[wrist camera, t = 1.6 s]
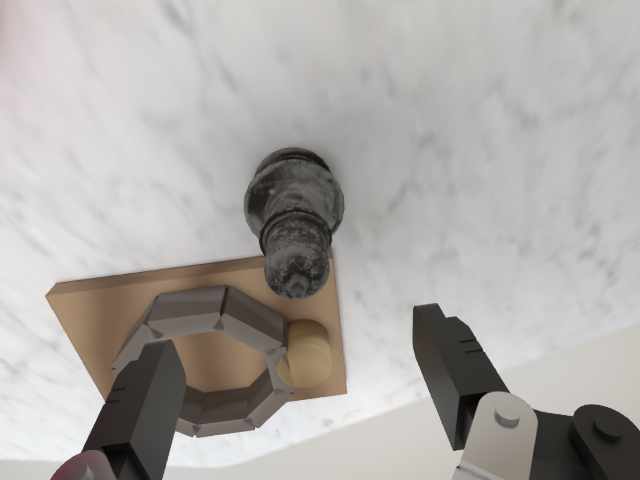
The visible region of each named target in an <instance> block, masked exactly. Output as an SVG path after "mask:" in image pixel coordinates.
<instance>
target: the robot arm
mask: <svg viewBox="0 0 640 480" xmlns="http://www.w3.org/2000/svg"><path fill="white" fill-rule="evenodd" d="M413 349H414V353H415V357H416V360H417V362H418V365H419V367H420V370H421V372H422V375H423V377H424V380H425V382H426V385H427V387H428V389H429V392H430V394H431V397H432V399H433V402H434V404H435V407H436V409H437V412H438V414H439V417H440V419H441V422H442V424H443V427H444V429H445V432H446V434H447V436H448V439H449V441H450V444H451V447H452V449H453V451H456V450H462V449H464V452H463V455H462V458H461V461H460V464H459V466H457V467H456V469H455V472H454V474H453V478H452V480H640V431H639V429H638V428H637V427H636V426H635V425H634V424H633V423H632V422H631V421H630V420H629V419H628V418H626V417H625V416H624V415H622V414H621V413H619V412H617V411H615V410H613V409H611V408H608V407H605V406H601V405H594V404H593V405H592V404H591V405H590V404H589V405H584V406H581V407H579V408H578V409H577V410H576V411H575V413H574V415H573V416H566V415H560V414H553V413H546V412H541V411H538V410H535V409H532V408H531V407H530V405H529V404H527V403H526V402H525V401H524V400H522V399H521V398H519V397H517V396H515V395H513V394H511V393H510V392H509V390H508V389H507V387H506V386H505V384H504V382H503V381H502V379H501V378H500V376H499V374H498V373H497V371H496V369H495V368H494V366H493V365H492V363H491V361H490V360H489V358H488V357H487V355H486V353H485V352H483V349H482V347H481V345H480V344H479V342H478V341H477V340H476V337H475V336H474V334H473V332H472V331H471V329H470V328H469V326H468V325H466V324H465V323H464V322H462V321H461V320H460V319H458V318H457V317H448V318H446V317H445V315H444V314H443V312H442V310H441V308H440V307H439V305H438V304H437V303H433V304H426V305H419V306H414V308H413ZM185 391H186V374H185V370H184V368H183V365H182V363H181V360H180V358H179V355H178V352H177V350H176V347H175V345H174V343H173V341H172V340H171V339H168V340H160V341H153V342H147V343H146V344H145V345H144V346H143V349H142V351H141V353H140V356H139V358H138V360H134V361H130V362H129V363H128V364H127V365H126V366H125V367H124V368H123V369H122V371H121V372H120V373H119V374H118V375H117V377H116V379H115V382H114V384H113V386H112V388H111V392H109V394H108V396H107V399H106V401H105V404H104V405H103V407H102V409H101V411H100V413H99V416H98V418H97V420H96V422H95V424H94V426H93V428H92V430H91V433H90V435H89V437H88V439H87V441H86V443H85V445H84V447H83V450H82V451H81V453H79V454H77V455H75V456H73V457H72V458H70V459H69V460H67V461H66V462H65V463H64V464H63V465H62V466H61V467H60V468H59V469H58V470H57V471H56V472H55V473H54V475H53V476H52V478H51V480H162V478H163V474H164V470H165V467H166V463H167V459H168V455H169V452H170V448H171V444H172V440H173V436H174V433H175V429H176V425H177V421H178V418H179V414H180V410H181V406H182V402H183V399H184V395H185Z"/></svg>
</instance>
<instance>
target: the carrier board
mask: <svg viewBox="0 0 640 480" xmlns="http://www.w3.org/2000/svg"><path fill="white" fill-rule="evenodd" d="M328 260H329V267H330V272H329V276H328V281H327V282H326V284H325V286H324V287H323V288H322V289H321V290H320V291H319V292H318V293H316V294H315V295H313V296H311V297H308V298H305V299H300V300H292V299H287V298H284V297H281V296H279V295H278V294H276V293H274V292H273V291H272V290H271V289H270V287H269V286H268V284H267V282H266V279H265V274H264V267H265V256H263V257H255V258H247V259H240V260H232V261H224V262H217V263H209V264H201V265H194V266H186V267H179V268H171V269H163V270H156V271H148V272H140V273H133V274H125V275H117V276H110V277H102V278H94V279H87V280H79V281H71V282H64V283H56V284H55V285H54V286H53V288H52V289H51V290H50V291H49V292H48V293H47V294H46V295H45V297H46V299H47V301H48V303H49V304H50V306H51V308H52V310H53V311H54V313H55V315H56V317H57V318H58V320H59V322H60V324H61V325H62V327H63V329H64V331H65V332H66V334H67V336H68V338H69V339H70V341H71V343H72V344H73V346H74V348H75V350H76V351H77V353H78V355H79V357H80V358H81V360H82V362H83V364H84V365H85V367H86V369H87V371H88V372H89V374H90V376H91V378H92V379H93V381H94V383H95V385H96V386H97V388H98V390H99V392H100V393H101V395H102V397H103V399H104V400H105V401H106V399H107V396H108V394H109V392H111V388H112V386H113V384H114V382H115V379H116V377H117V375H118V374H119V373H120V372H121V371H122V369H123V368H124V367H125V366H126V365H127V364H128V363H129V362H130V361H134V360H138V358H139V356H140V353H141V351H142V349H143V346H144V345H145V344H146V343H147V342H153V341H160V340H168V339H171V340H172V341H173V343H174V345H175V347H176V350H177V352H178V355H179V358H180V360H181V363H182V365H183V368H184V370H185V374H186V391H185V395H184V399H183V402H182V406H181V410H180V414H179V418H178V421H177V425H176V429H175V431H177V432H180V433H182V434H185V435H188V436H190V437H193V436H194V435H196V437H197V438H199V437H207V436H214V435H221V434H229V433H236V432H243V431H251V430H255V427H257V428H259V427H261V426H262V425H263V424H264V423H265V422H266V421H267V420H268V419H269V418H270V417H271V416H272V415H273V414H274V413H275V412H276V411H277V410H279V409H280V408H281V407H282V406H283V405H284V404H285V403H286V402H290V401H298V400H305V399H312V398H320V397H327V396H335V395H342V394H347V386H346V377H345V367H344V358H343V349H342V340H341V330H340V321H339V312H338V302H337V293H336V284H335V275H334V265H333V257H332V252H331V248H330V250H329V252H328Z"/></svg>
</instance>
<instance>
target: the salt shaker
mask: <svg viewBox="0 0 640 480" xmlns="http://www.w3.org/2000/svg"><path fill="white" fill-rule="evenodd" d="M344 209H345V208H344V196H343V194H342V191H341V188H340V186H339V184H338V182H337V181H336V180H335V178H334V177H333V176H332V175H331V172H330V170H329V167H328V166H327V165H326V163H325V162H324V161H323V159H321V158H320V157H319V156H317V155H316V154H315V153H313V152H310V151H308V150H306V149H301V148H286V149H281V150H279V151H276V152H274V153H272V154H271V155H269V156H268V157H267V158H265V159H264V160H263V162H262V163H261V164H260V166H259V167H258V169H257V172H256V174H255V177H254V179H253V180H252V182H251V183H250V184H249V186H248V189H247V192H246V194H245V199H244V212H245V217H246V221H247V223H248V225H249V227H250V229H251V230H252V232H253V233H254V234H255V235H256V236H257V237H258V238H259V243H260V248H261V251H262V252H263V254H264V256H265V267H264V274H265V279H266V282H267V284H268V286H269V287H270V289H271V290H272V291H273V292H274V293H276V294H278V295H279V296H281V297H284V298H287V299H292V300H300V299H305V298H308V297H311V296H313V295H315V294H316V293H318V292H319V291H320V290H321V289H322V288H323V287H324V286H325V284H326V282H327V281H328V276H329V272H330V267H329V260H328V252H329V250H330V248H331V243H332V235H333V234H334V233H335V232H336V231H337V229H338V227H339V225H340V223H341V221H342V218H343V214H344Z"/></svg>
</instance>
